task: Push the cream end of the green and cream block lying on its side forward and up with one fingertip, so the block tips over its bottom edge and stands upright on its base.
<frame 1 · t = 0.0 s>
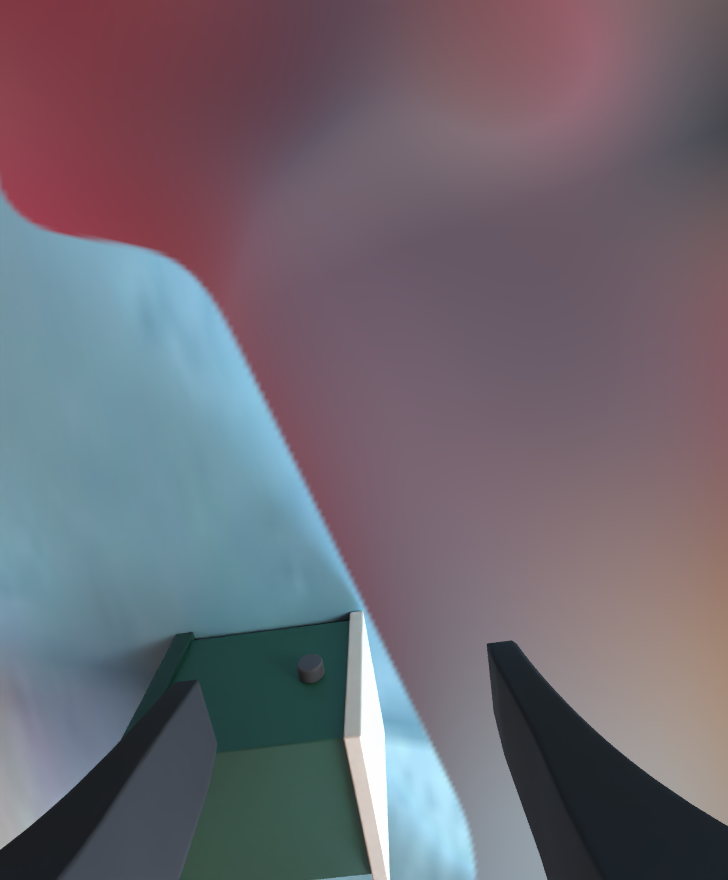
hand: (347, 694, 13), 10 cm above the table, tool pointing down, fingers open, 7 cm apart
green and cream block: (169, 757, 23), point 3 cm above the table
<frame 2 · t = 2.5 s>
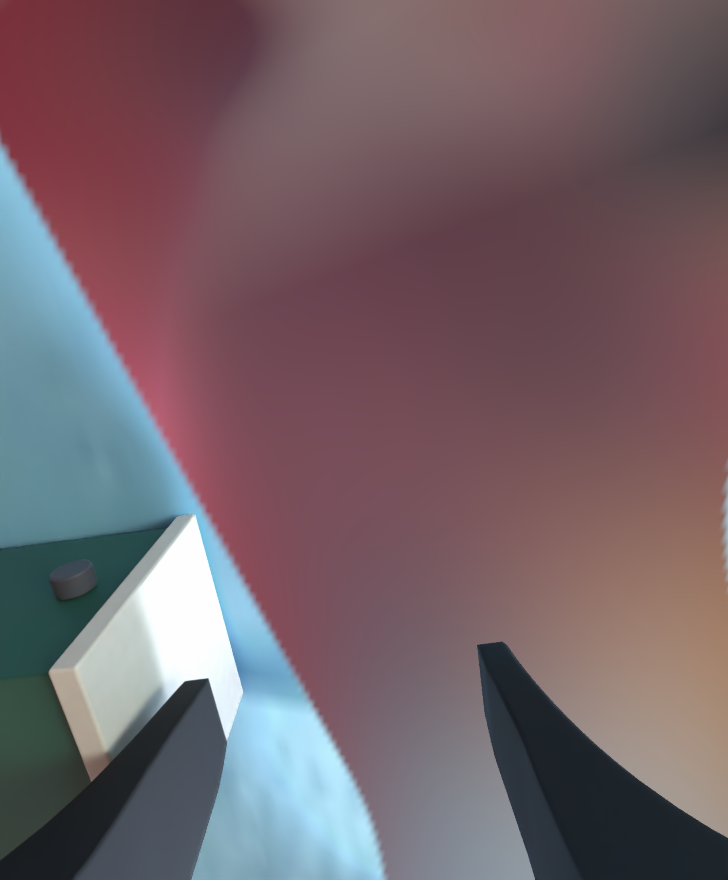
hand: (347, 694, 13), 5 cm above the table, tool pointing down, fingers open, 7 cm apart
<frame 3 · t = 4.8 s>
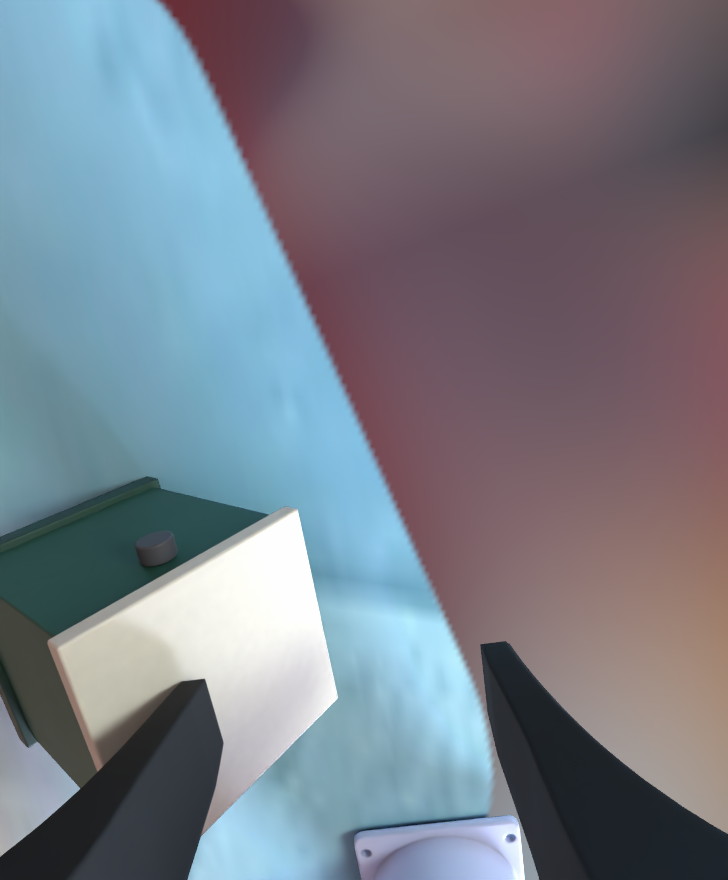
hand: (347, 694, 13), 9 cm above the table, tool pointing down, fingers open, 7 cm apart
green and cream block: (88, 597, 20), point 3 cm above the table, tilted 39°, touching gripper
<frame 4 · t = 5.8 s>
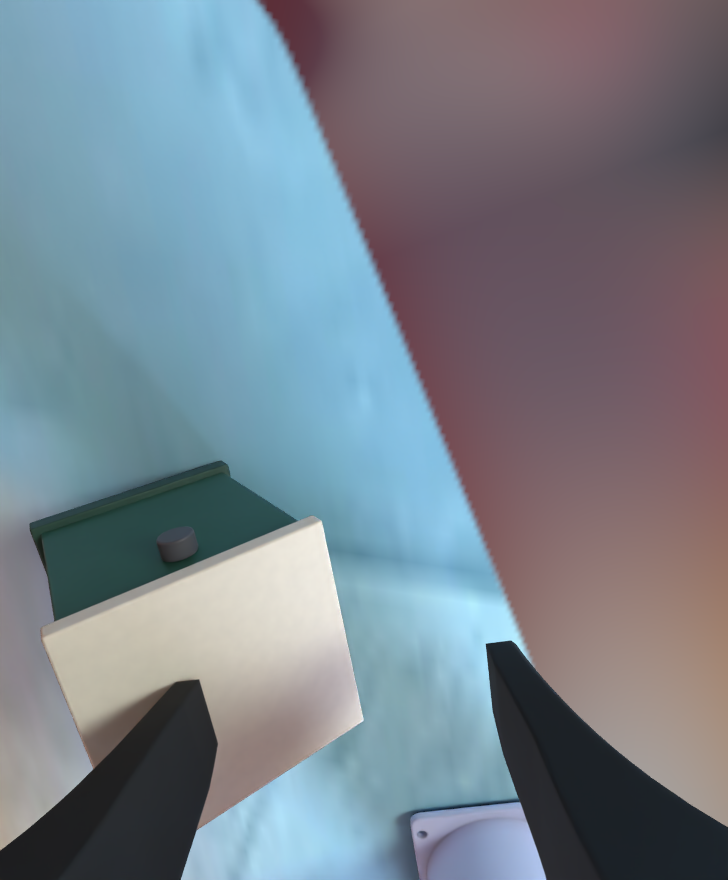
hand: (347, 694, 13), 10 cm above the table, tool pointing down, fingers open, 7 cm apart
green and cream block: (158, 569, 21), point 2 cm above the table, tilted 57°, touching gripper
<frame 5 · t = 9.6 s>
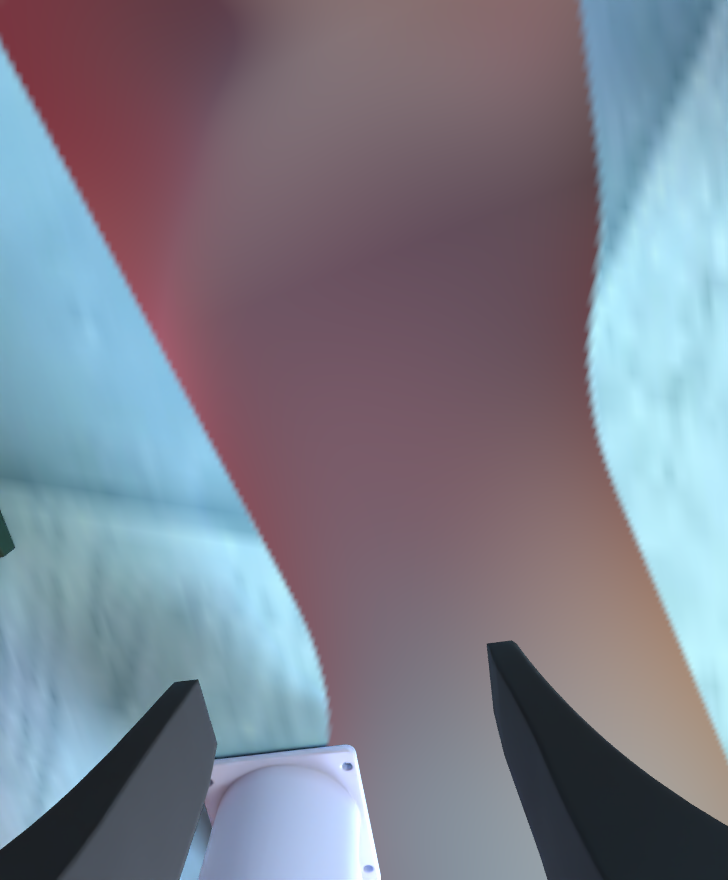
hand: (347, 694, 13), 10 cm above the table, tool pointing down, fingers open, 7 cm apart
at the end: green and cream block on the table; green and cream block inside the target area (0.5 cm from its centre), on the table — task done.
